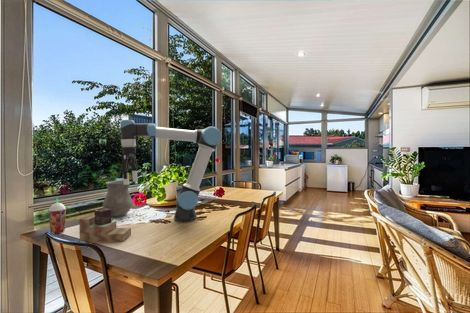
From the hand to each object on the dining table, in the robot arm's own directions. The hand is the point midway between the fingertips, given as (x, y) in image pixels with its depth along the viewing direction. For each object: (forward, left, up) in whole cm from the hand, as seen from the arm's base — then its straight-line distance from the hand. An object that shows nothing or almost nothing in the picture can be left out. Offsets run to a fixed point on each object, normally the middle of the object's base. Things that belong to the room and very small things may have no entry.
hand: (131, 183), depth 138 cm
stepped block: (+9, +12, -28) cm, 32 cm away
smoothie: (+43, 0, -28) cm, 51 cm away
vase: (+24, -34, -28) cm, 50 cm away
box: (+10, +12, -20) cm, 26 cm away
